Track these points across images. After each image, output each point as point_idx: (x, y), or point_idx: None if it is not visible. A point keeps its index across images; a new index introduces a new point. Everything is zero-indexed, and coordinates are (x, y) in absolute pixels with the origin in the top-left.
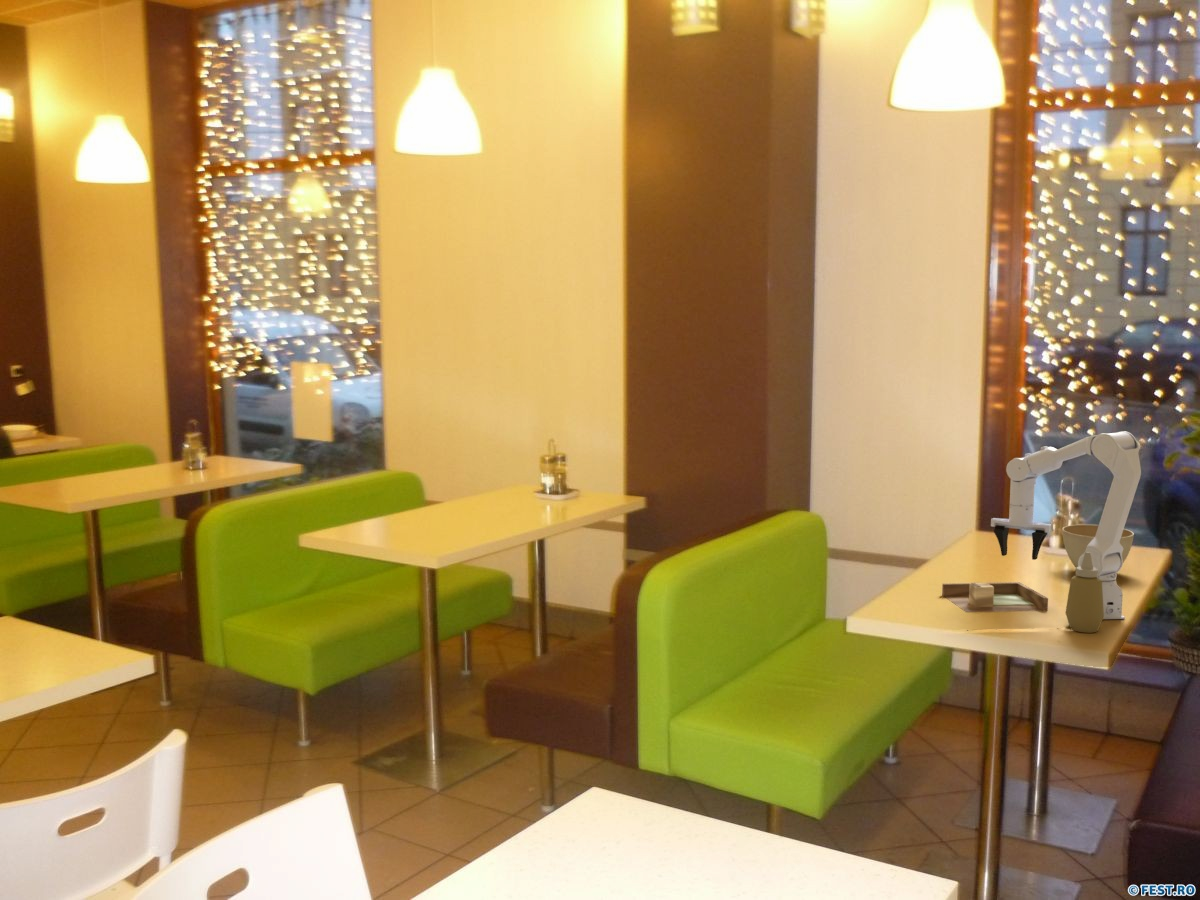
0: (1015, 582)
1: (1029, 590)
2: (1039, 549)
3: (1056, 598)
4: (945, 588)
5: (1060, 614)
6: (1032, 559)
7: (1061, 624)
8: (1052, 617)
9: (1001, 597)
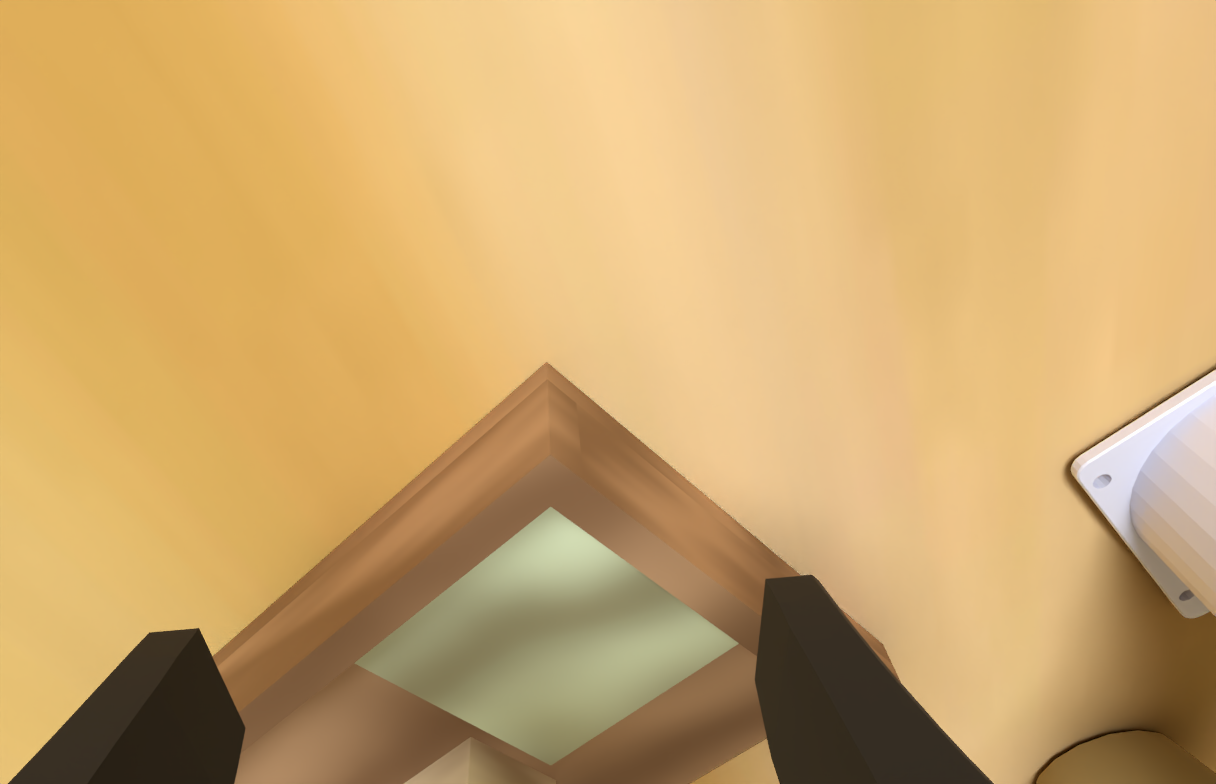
0: (519, 488)
1: (744, 645)
2: (926, 716)
3: (891, 175)
4: None
5: (967, 611)
6: (760, 680)
7: (984, 757)
8: (923, 687)
9: (495, 602)
